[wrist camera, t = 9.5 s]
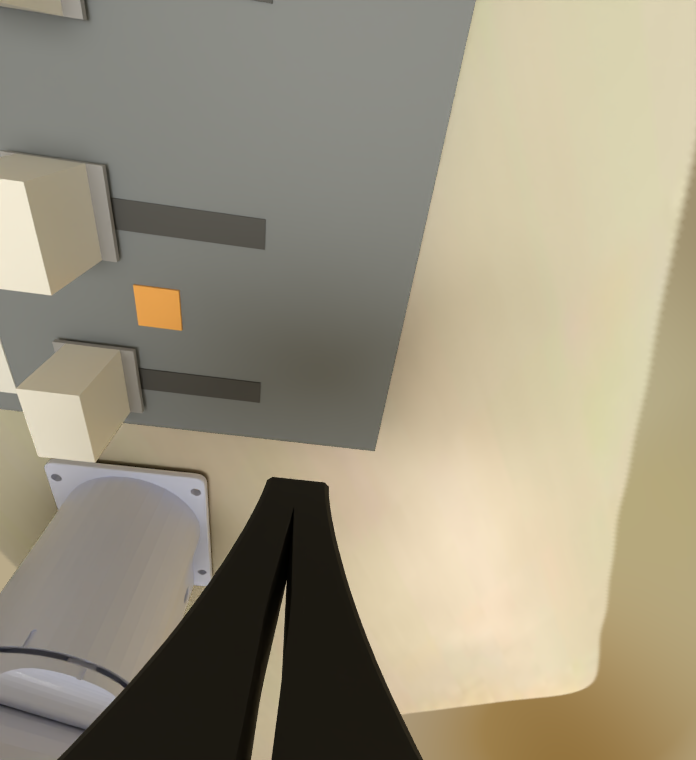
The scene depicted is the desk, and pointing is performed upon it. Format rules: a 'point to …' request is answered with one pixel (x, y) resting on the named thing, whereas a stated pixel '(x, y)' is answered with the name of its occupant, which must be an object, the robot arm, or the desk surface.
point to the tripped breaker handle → (52, 221)
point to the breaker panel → (239, 198)
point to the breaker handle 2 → (80, 399)
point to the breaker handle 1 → (50, 7)
